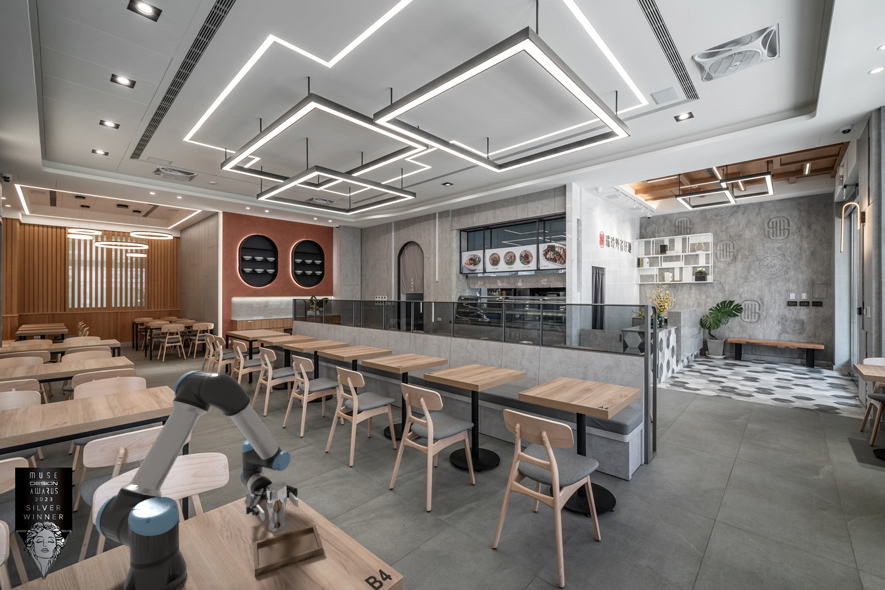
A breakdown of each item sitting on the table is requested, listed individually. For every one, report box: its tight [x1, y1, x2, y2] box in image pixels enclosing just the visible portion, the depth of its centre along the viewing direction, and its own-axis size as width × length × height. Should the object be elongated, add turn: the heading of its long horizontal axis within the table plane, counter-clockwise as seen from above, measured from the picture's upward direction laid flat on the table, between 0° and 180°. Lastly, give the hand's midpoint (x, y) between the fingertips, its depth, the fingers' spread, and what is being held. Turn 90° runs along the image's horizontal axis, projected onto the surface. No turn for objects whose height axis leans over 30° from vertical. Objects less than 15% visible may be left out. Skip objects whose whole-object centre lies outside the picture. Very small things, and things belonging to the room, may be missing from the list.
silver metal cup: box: [265, 481, 288, 533], centre depth 140 cm, size 7×7×15 cm
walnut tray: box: [252, 524, 324, 577], centre depth 127 cm, size 20×14×2 cm
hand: (280, 509), depth 137 cm, fingers open, 11 cm apart
